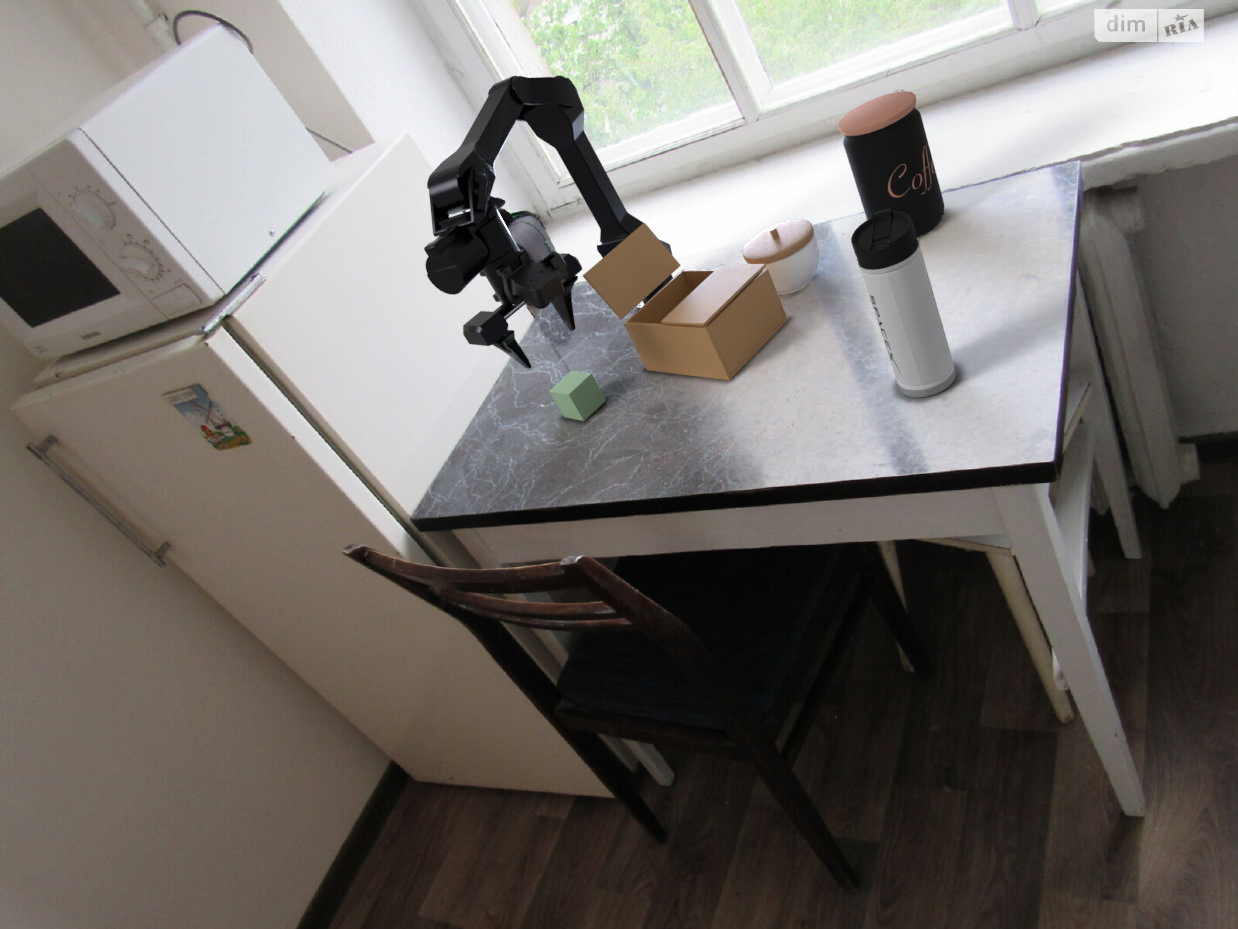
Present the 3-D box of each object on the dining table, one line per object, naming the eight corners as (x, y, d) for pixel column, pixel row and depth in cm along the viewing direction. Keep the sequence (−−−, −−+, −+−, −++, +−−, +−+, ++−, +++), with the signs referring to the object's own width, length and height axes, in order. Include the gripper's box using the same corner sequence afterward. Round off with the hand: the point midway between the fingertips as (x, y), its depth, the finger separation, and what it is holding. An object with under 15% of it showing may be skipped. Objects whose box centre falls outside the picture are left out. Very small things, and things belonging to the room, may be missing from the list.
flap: (621, 319, 125) (620, 320, 126) (680, 265, 131) (679, 266, 131) (583, 274, 124) (582, 275, 125) (644, 222, 130) (643, 223, 130)
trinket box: (825, 255, 133) (805, 200, 128) (832, 286, 125) (811, 228, 120) (758, 280, 137) (737, 228, 132) (761, 312, 128) (738, 257, 123)
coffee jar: (907, 250, 123) (871, 131, 114) (858, 240, 132) (822, 129, 123) (963, 210, 125) (932, 89, 115) (911, 203, 134) (879, 90, 124)
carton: (647, 370, 130) (620, 319, 125) (703, 315, 136) (680, 264, 131) (729, 380, 117) (703, 323, 112) (788, 319, 123) (765, 263, 118)
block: (564, 417, 131) (548, 391, 128) (586, 396, 132) (571, 370, 130) (584, 421, 127) (568, 394, 124) (606, 400, 129) (591, 373, 126)
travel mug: (957, 358, 99) (913, 200, 88) (955, 392, 94) (908, 230, 84) (901, 368, 102) (852, 217, 92) (897, 402, 97) (845, 247, 87)
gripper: (478, 293, 106) (538, 394, 114) (579, 212, 113) (629, 312, 121) (434, 292, 114) (494, 386, 122) (532, 217, 122) (581, 310, 130)
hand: (551, 348), depth 124 cm, fingers open, 9 cm apart
